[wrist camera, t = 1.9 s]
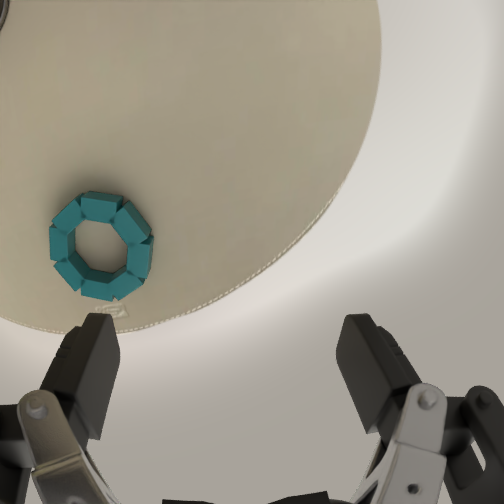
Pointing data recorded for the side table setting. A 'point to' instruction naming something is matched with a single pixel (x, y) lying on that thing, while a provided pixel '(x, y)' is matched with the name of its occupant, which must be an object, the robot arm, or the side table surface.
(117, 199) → the ring
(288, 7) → the side table surface
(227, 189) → the side table surface
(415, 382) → the robot arm
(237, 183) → the side table surface
